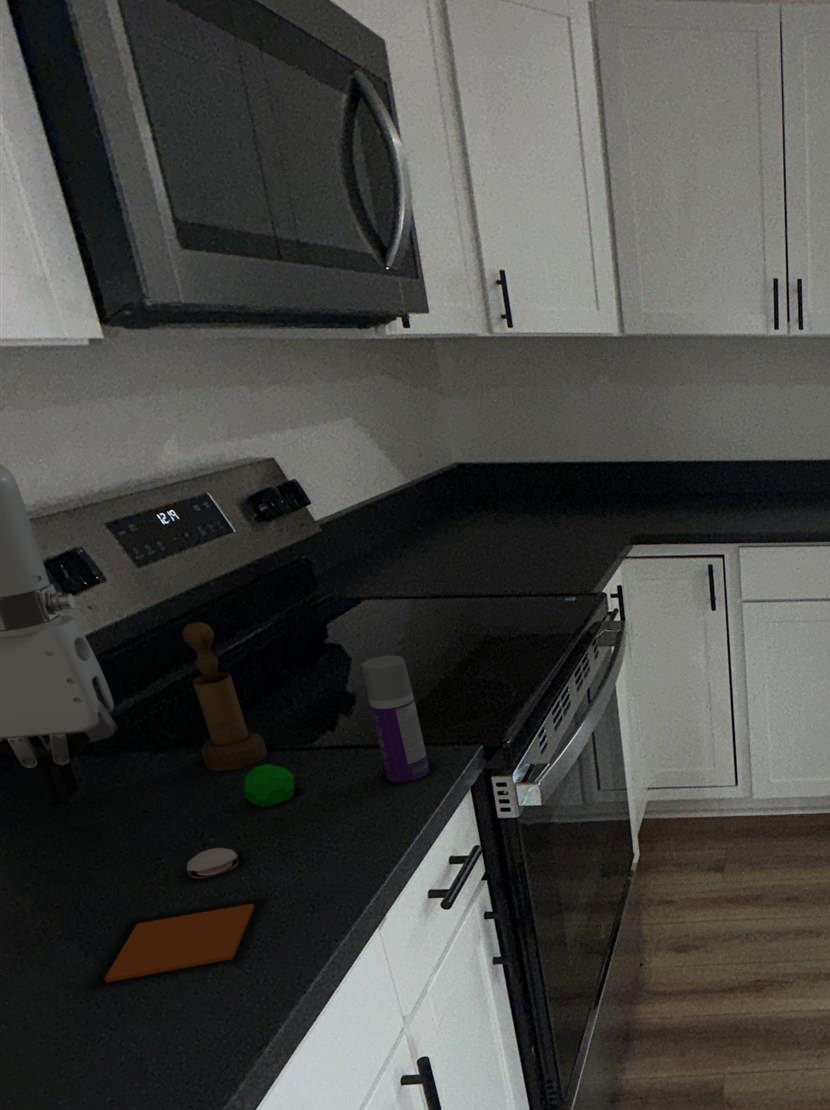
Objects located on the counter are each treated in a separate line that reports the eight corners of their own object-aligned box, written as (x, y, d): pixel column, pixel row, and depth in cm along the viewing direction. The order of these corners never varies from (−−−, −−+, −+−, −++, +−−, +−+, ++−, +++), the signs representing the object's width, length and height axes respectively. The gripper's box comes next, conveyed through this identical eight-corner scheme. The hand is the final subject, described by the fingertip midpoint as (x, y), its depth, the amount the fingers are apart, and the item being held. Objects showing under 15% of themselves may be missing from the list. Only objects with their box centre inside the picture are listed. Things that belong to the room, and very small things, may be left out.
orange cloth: (98, 992, 76) (94, 982, 76) (135, 930, 84) (131, 921, 84) (237, 966, 80) (233, 956, 79) (260, 909, 87) (257, 899, 87)
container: (379, 783, 111) (350, 665, 105) (409, 767, 115) (383, 653, 109) (409, 789, 109) (381, 671, 103) (439, 773, 113) (414, 657, 107)
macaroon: (191, 889, 90) (183, 867, 89) (189, 866, 94) (182, 845, 93) (242, 875, 93) (235, 853, 91) (239, 853, 96) (232, 833, 95)
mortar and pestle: (221, 776, 113) (175, 635, 105) (196, 763, 116) (150, 626, 108) (277, 756, 118) (237, 620, 110) (251, 744, 121) (211, 612, 113)
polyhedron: (300, 808, 105) (289, 770, 103) (250, 819, 103) (237, 781, 101) (299, 790, 109) (288, 754, 107) (250, 800, 107) (238, 763, 105)
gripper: (120, 594, 85) (173, 772, 92) (-87, 603, 80) (-14, 791, 87) (89, 617, 78) (148, 807, 86) (-138, 628, 74) (-54, 829, 81)
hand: (67, 798), depth 87 cm, fingers closed
